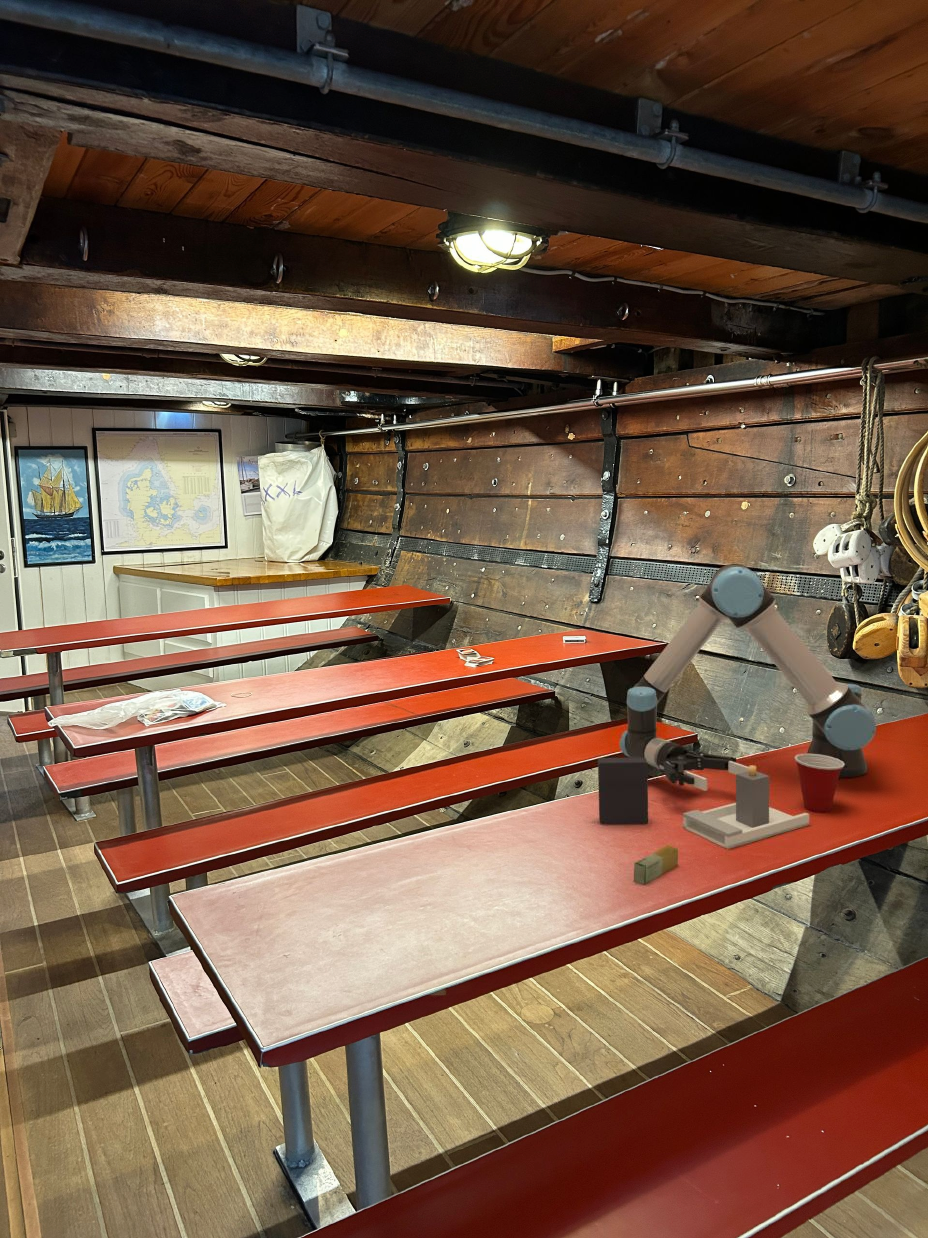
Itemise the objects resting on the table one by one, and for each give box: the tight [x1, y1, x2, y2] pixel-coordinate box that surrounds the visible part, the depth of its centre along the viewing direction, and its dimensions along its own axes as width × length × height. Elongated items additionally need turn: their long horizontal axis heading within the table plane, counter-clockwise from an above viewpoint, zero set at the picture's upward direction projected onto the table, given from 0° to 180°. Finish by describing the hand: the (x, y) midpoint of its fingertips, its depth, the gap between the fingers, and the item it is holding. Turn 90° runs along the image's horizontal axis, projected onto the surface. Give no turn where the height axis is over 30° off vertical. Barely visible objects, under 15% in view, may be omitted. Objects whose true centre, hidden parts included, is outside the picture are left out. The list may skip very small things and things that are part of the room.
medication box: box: [633, 845, 679, 885], centre depth 171 cm, size 12×3×4 cm, turn 134°
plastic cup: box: [794, 753, 845, 813], centre depth 200 cm, size 11×11×12 cm
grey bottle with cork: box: [735, 764, 770, 828], centre depth 192 cm, size 5×5×13 cm
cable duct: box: [682, 802, 810, 850], centre depth 192 cm, size 24×14×3 cm, turn 117°
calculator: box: [597, 757, 649, 825], centre depth 197 cm, size 11×4×15 cm, turn 84°
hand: (728, 779), depth 198 cm, fingers open, 13 cm apart
